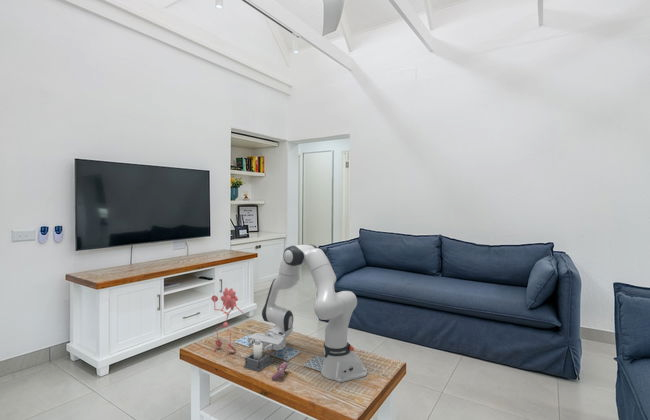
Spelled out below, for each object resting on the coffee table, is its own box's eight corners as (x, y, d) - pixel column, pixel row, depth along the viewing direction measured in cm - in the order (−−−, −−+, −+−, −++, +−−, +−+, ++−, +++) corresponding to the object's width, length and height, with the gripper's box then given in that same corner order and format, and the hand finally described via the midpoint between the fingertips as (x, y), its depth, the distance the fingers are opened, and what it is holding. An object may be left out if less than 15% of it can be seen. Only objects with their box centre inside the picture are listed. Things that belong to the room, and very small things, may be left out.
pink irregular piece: (278, 385, 150) (285, 372, 149) (270, 379, 151) (276, 367, 150) (284, 374, 160) (291, 362, 159) (276, 369, 160) (283, 357, 160)
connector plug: (262, 360, 167) (262, 337, 167) (262, 364, 163) (262, 341, 163) (253, 361, 166) (253, 338, 166) (253, 365, 162) (253, 342, 162)
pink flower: (235, 360, 169) (237, 293, 170) (203, 348, 183) (204, 287, 183) (256, 350, 183) (257, 288, 183) (224, 339, 196) (225, 282, 196)
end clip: (258, 357, 173) (258, 348, 173) (273, 361, 169) (273, 352, 169) (243, 367, 163) (244, 358, 162) (259, 371, 158) (259, 362, 158)
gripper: (257, 328, 181) (240, 337, 168) (288, 334, 172) (273, 345, 159) (257, 339, 181) (240, 349, 168) (288, 346, 172) (273, 357, 160)
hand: (256, 347), depth 164 cm, fingers open, 8 cm apart
